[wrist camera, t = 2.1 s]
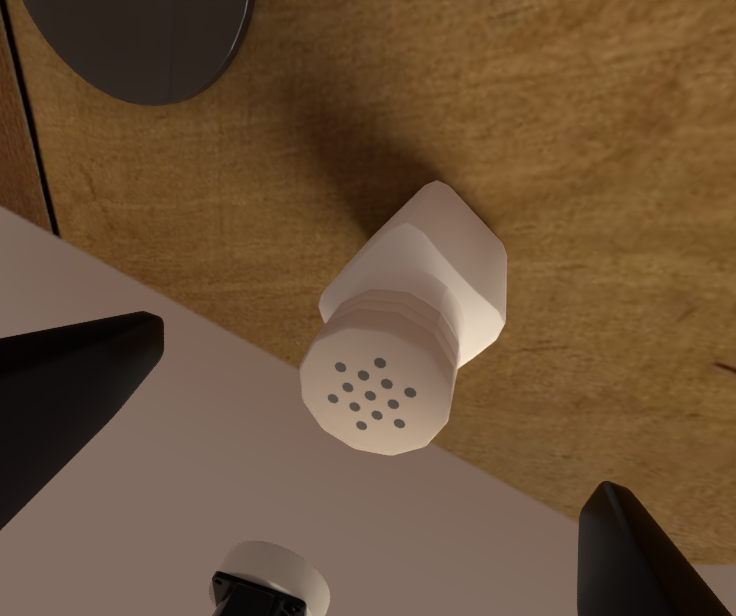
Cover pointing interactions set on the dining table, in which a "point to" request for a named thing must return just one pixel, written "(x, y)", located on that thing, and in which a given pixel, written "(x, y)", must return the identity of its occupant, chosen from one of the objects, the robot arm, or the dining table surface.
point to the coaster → (145, 43)
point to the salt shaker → (405, 324)
